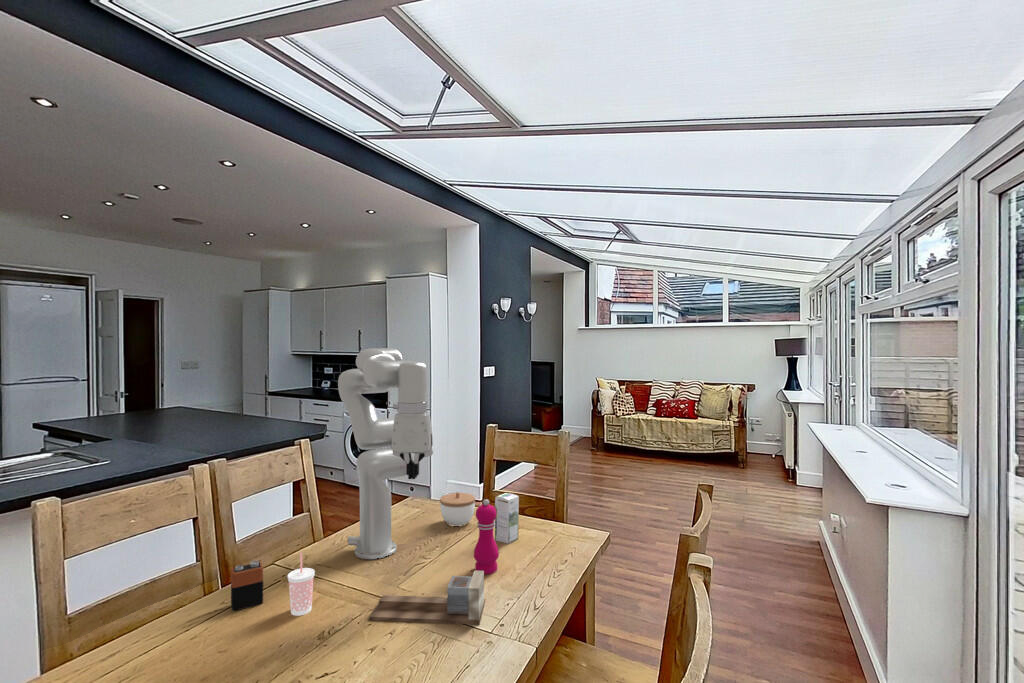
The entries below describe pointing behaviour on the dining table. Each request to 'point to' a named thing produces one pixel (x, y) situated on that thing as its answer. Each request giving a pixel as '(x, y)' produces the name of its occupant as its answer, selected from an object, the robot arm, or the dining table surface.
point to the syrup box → (506, 517)
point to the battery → (246, 585)
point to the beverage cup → (301, 589)
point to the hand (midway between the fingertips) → (412, 477)
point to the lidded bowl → (457, 508)
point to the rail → (431, 607)
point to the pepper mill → (486, 539)
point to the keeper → (458, 595)
